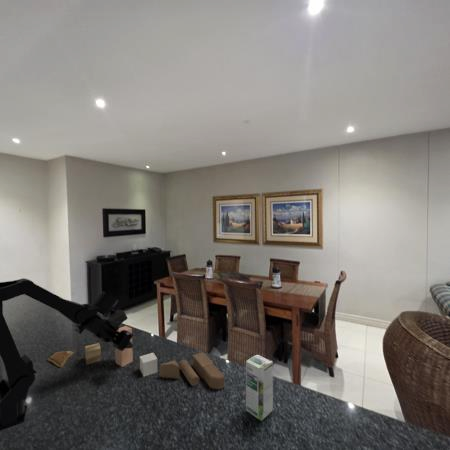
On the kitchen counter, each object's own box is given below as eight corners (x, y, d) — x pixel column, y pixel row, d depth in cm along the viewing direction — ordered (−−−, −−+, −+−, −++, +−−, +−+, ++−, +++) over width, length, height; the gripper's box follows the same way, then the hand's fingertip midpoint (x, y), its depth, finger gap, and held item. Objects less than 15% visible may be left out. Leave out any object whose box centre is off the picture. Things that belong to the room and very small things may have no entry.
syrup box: (245, 410, 72) (244, 361, 71) (258, 400, 76) (257, 353, 75) (261, 422, 67) (260, 369, 67) (273, 410, 72) (273, 360, 71)
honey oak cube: (100, 360, 99) (100, 348, 98) (86, 364, 96) (86, 351, 96) (99, 354, 103) (99, 342, 103) (85, 358, 100) (85, 346, 100)
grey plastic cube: (157, 372, 91) (157, 358, 90) (143, 377, 88) (143, 363, 88) (153, 365, 95) (153, 352, 95) (140, 369, 92) (139, 356, 92)
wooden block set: (202, 347, 97) (225, 372, 81) (202, 362, 97) (225, 389, 82) (158, 360, 89) (175, 390, 73) (159, 376, 89) (175, 409, 73)
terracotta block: (122, 366, 94) (121, 332, 94) (115, 362, 97) (114, 329, 96) (132, 361, 98) (131, 328, 97) (126, 357, 100) (125, 325, 100)
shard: (61, 369, 94) (61, 364, 94) (38, 371, 92) (38, 367, 92) (73, 354, 104) (73, 350, 104) (53, 356, 103) (53, 352, 103)
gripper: (127, 310, 88) (153, 330, 97) (100, 301, 99) (126, 319, 108) (105, 341, 82) (136, 359, 91) (79, 327, 93) (109, 344, 102)
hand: (126, 344), depth 98 cm, fingers open, 7 cm apart
